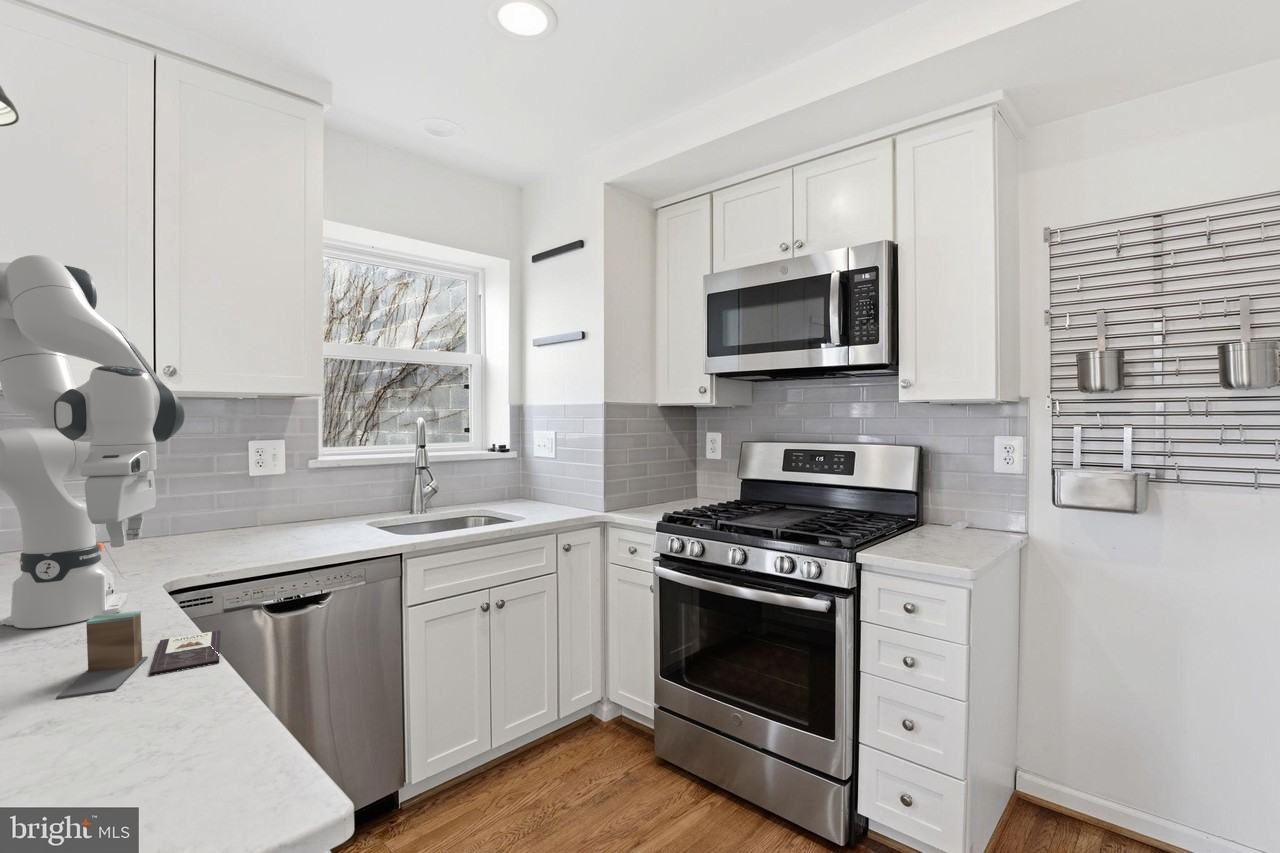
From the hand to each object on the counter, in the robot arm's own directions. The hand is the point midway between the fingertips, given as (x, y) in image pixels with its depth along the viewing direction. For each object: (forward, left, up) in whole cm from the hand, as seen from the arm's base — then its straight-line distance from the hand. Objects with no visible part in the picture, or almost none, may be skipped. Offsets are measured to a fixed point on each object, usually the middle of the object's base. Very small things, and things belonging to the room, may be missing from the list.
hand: (126, 542), depth 111 cm
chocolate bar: (+4, +9, -20) cm, 22 cm away
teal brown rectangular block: (+7, 0, -19) cm, 20 cm away
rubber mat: (+11, 0, -19) cm, 22 cm away
